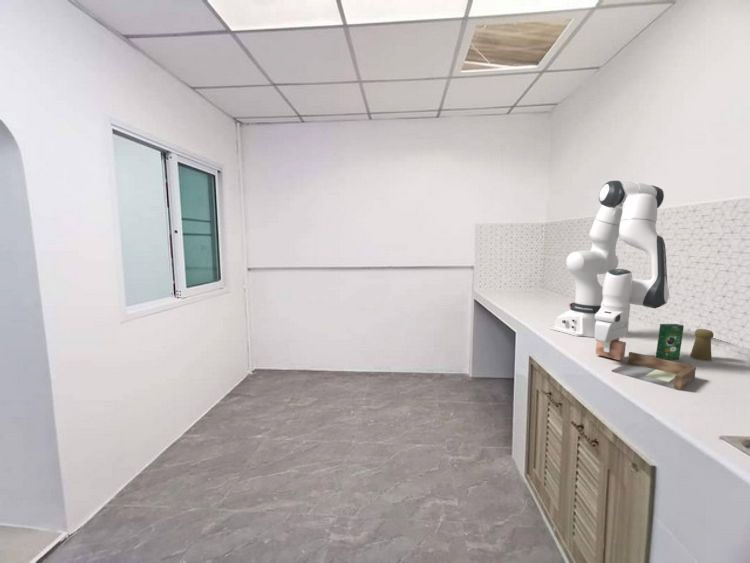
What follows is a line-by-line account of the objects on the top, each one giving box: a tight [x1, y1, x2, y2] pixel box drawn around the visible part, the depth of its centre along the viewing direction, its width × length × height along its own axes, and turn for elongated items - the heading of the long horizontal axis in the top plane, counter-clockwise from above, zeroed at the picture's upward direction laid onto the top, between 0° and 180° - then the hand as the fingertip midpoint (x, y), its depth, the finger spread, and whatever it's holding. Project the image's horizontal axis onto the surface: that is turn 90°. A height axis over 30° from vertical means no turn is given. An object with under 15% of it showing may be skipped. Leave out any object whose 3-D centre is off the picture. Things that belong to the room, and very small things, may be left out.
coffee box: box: [655, 323, 685, 360], centre depth 132 cm, size 8×3×13 cm, turn 101°
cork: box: [689, 328, 714, 362], centre depth 133 cm, size 6×6×11 cm
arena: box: [611, 351, 697, 391], centre depth 115 cm, size 18×16×4 cm
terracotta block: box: [595, 340, 627, 361], centre depth 131 cm, size 8×4×6 cm, turn 36°
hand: (610, 350), depth 131 cm, fingers closed on terracotta block, 4 cm apart
